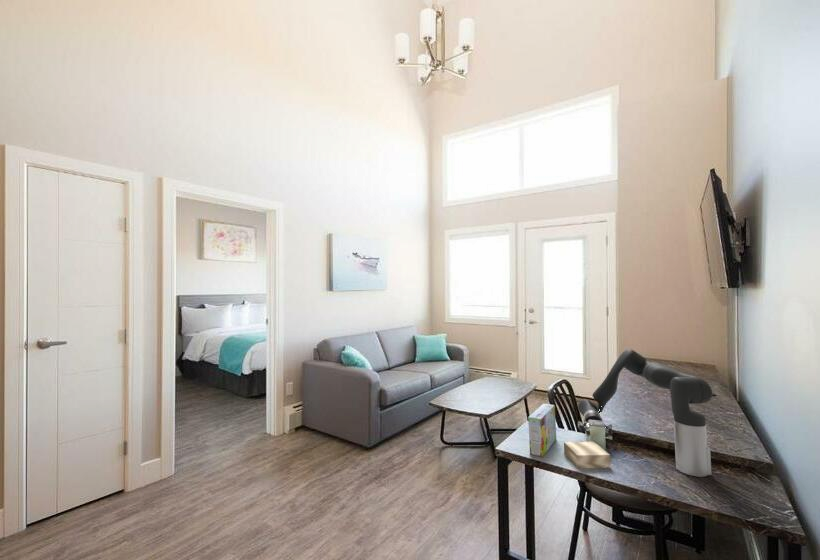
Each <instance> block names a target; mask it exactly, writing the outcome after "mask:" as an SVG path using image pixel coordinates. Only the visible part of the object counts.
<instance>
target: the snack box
mask: <svg viewBox="0 0 820 560" xmlns="http://www.w3.org/2000/svg"><path fill="white" fill-rule="evenodd" d="M527 419H528V441H529V455H532V456H537V457H541V458H543V457H544V456H545V454H546V453H547V451H549V449H550V448H551V447H552V445H553V444H554V443H555V441H556V440H557V428H556V427H557V425H556V423H557V421H556V407H555V404H550V403H542V404H541V405H540V406H539V407H538V408H536V410H534V411H533V413H531V414H530V415H529V416H528V417H527Z"/></svg>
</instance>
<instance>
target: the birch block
mask: <svg viewBox="0 0 820 560" xmlns="http://www.w3.org/2000/svg"><path fill="white" fill-rule="evenodd" d="M563 454H564V456H565V457H567V458H568V460H569V461H570V462H571V463H572V464H573V465H574V466H575V467H576V468H577V469H598V468H599V469H603V468H604V469H605V468H606V469H611V454H610V453H608V451H607V450H603V449H602V448H601V447H600V446H599V445H597V444H596V443H595V442H589V441H563ZM607 467H609V468H607Z"/></svg>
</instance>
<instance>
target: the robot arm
mask: <svg viewBox="0 0 820 560" xmlns="http://www.w3.org/2000/svg"><path fill="white" fill-rule="evenodd" d="M623 369H626V370H627V371H628V372H630V373H631V374H634V375H636V376H638V377H642V378H644V379H645V380H647V381H648V382H650V383H651V384H653V385H655V386H656V387H659V388H660V389H661V388H662V389H666V390H669V392H670V400H671V401H670V403H671V411H672V414H673V429H674V430H673V434H674V454H675V456H674V457H675V468H676V470H678V472H680V473H683V474H684V475H688V476H693V477H698V478H704V477H708V476H711V475H712V461H711V458H712V457H711V446H708V442H707V441H708V440H707V438H708V437H707V421H706V420H707V419H706V417H705V415H703V414H701V413H699V412H697V411H694V410H691V408H690V404H694V405H695V404H696V405H697V404H699V405H700V404H706V403H708V402H710V401H711V399H712V398H713V390H712V387H711V386H710V384H709V383H708V382H707V381H706V380H705V379H703V378H701V377H698V376H694V375H691V374H686V373H684V372H681V371H680V370H677V369H675V368H672V367H670V366H668V365H666V364H663V363H662V362H657V361H652V362H651V361H650V360H648V359H647V358H646V357H644V356H642V354H639V353H638V352H637V351H635V350H633V349H631V348H628V349H625V350H624V351H622V353H621V354H620V355H619V356H618V358H617V359H616V361H615V363H614V364H613V365H612V368H611V369H610V370H609V373H608V374H607V375H606V377H605V379H603V381H602V382H601V384H600V385H599V386H598V387H597V389H595V391H593V393H592V398H593V399H594V400H595V401H596V402H597V404H598V405H596V404H595V403H593V402H591V401H590V400H589V399H586V398H584V399H581V400H580V401H579V402H578V405H577V409H578V411H579V413H580V414H581V415H582V416H583V422H582V421H580V420H579V421H577V428H578V429H579V431H580V432H582V433H584V432H585V434H586V435H587V436H588V437H589V436H590V430H589V423H588V420H598V421H603V418H602V415H601V416H600V414H599V413H600V412H602V413H603V410H604V409H605V406H606V405H607V404H608V402H609V401H610V400H611V399H612V398H613V397H614V396H615V394H616V392H617V389H618V384H619V383H618V381H619V376H620V373H621V372H622V370H623ZM601 406H602V407H601ZM599 409H600V411H599ZM598 411H599V412H598ZM603 422H604V421H603ZM604 425H605V427H606V428H605V439H606V438H608V437H609V436H612V435H613V432H612V428H613V429H614V427H613V424H608V425H606V424H605V423H604Z"/></svg>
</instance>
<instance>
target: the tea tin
mask: <svg viewBox="0 0 820 560" xmlns="http://www.w3.org/2000/svg"><path fill="white" fill-rule="evenodd" d="M588 423H589V430H590V436H588V442H595V443H596V444H597V445H599V446H600V447H601V448H602V449H603V450H605V451H607V446H606V445H607V444H606V438H605V425H606V424H605V423H604V421H598V420H588ZM591 424H592V425H591ZM604 424H605V425H604Z"/></svg>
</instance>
